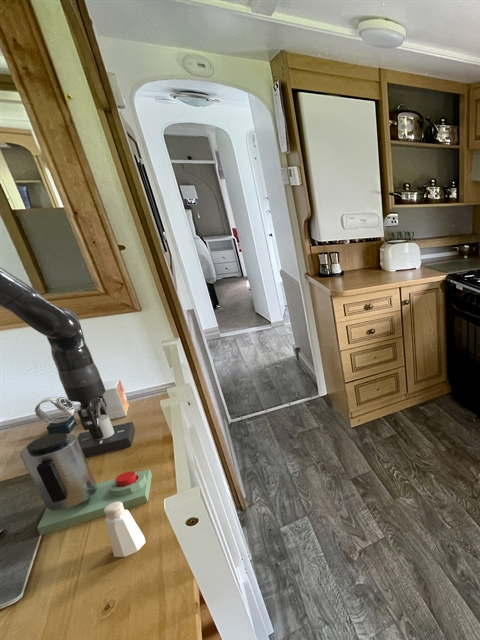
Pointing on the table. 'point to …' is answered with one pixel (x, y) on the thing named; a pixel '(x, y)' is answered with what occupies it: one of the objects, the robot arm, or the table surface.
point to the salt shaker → (122, 530)
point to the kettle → (59, 470)
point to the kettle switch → (126, 479)
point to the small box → (115, 399)
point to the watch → (61, 423)
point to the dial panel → (107, 440)
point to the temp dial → (105, 426)
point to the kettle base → (98, 503)
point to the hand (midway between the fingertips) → (101, 431)
